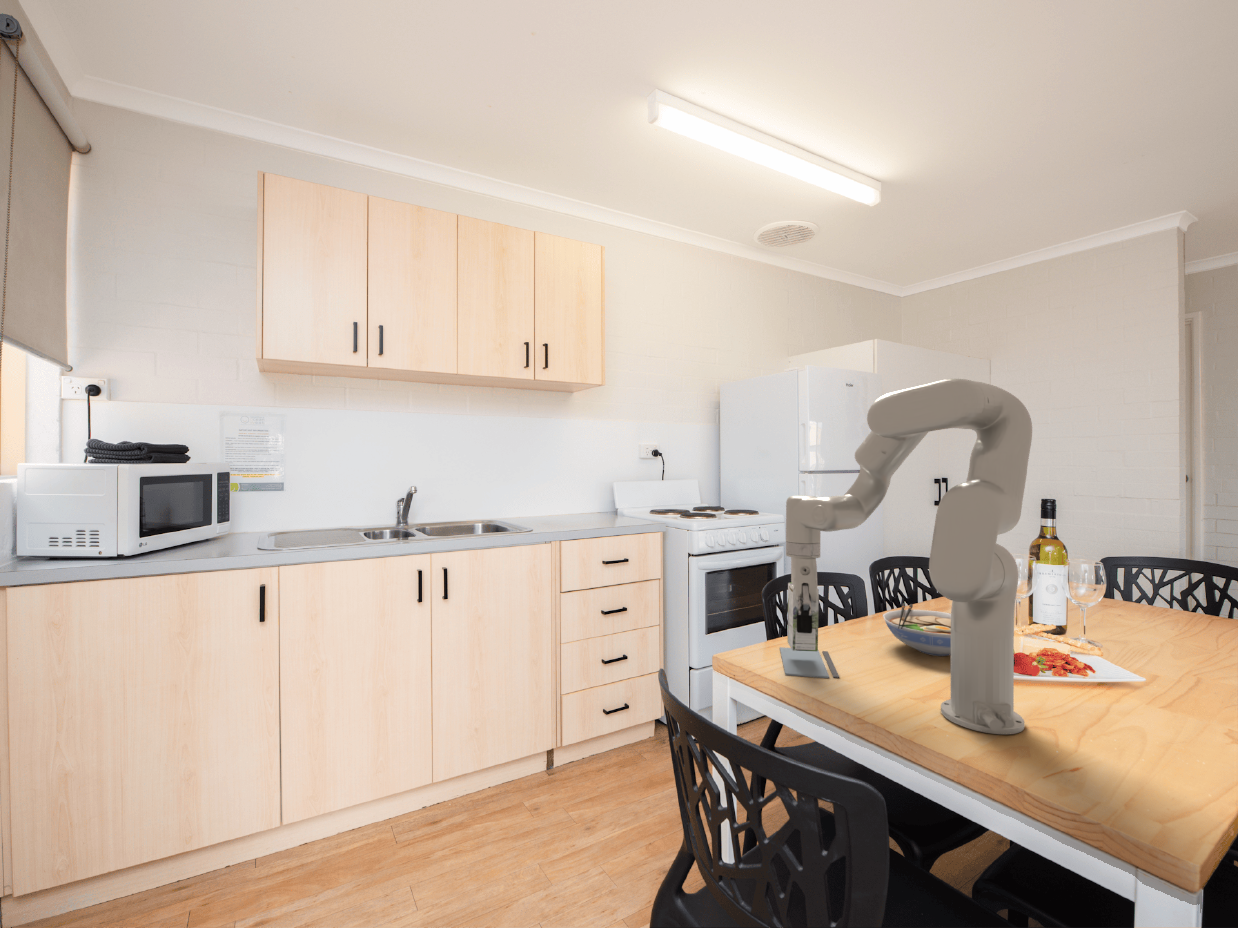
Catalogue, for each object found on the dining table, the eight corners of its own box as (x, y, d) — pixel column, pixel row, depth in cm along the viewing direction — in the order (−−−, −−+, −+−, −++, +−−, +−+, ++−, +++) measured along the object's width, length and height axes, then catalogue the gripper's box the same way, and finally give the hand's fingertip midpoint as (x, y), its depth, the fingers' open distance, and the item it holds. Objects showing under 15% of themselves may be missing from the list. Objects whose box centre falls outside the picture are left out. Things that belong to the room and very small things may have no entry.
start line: (839, 678, 122) (839, 676, 122) (833, 677, 122) (833, 676, 122) (827, 652, 139) (827, 651, 139) (822, 652, 139) (822, 650, 139)
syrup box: (812, 644, 135) (812, 581, 134) (818, 652, 129) (818, 587, 129) (787, 643, 135) (787, 581, 135) (792, 651, 129) (792, 586, 129)
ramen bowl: (991, 676, 123) (991, 638, 123) (875, 657, 135) (875, 622, 135) (988, 645, 145) (988, 612, 145) (888, 631, 157) (888, 601, 157)
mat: (829, 678, 122) (829, 676, 122) (785, 674, 124) (785, 673, 124) (818, 651, 140) (818, 649, 140) (779, 648, 142) (779, 647, 142)
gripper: (825, 556, 123) (825, 640, 123) (815, 544, 140) (815, 619, 140) (789, 554, 124) (788, 638, 124) (783, 543, 141) (783, 617, 141)
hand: (802, 627), depth 132 cm, fingers closed on syrup box, 6 cm apart
